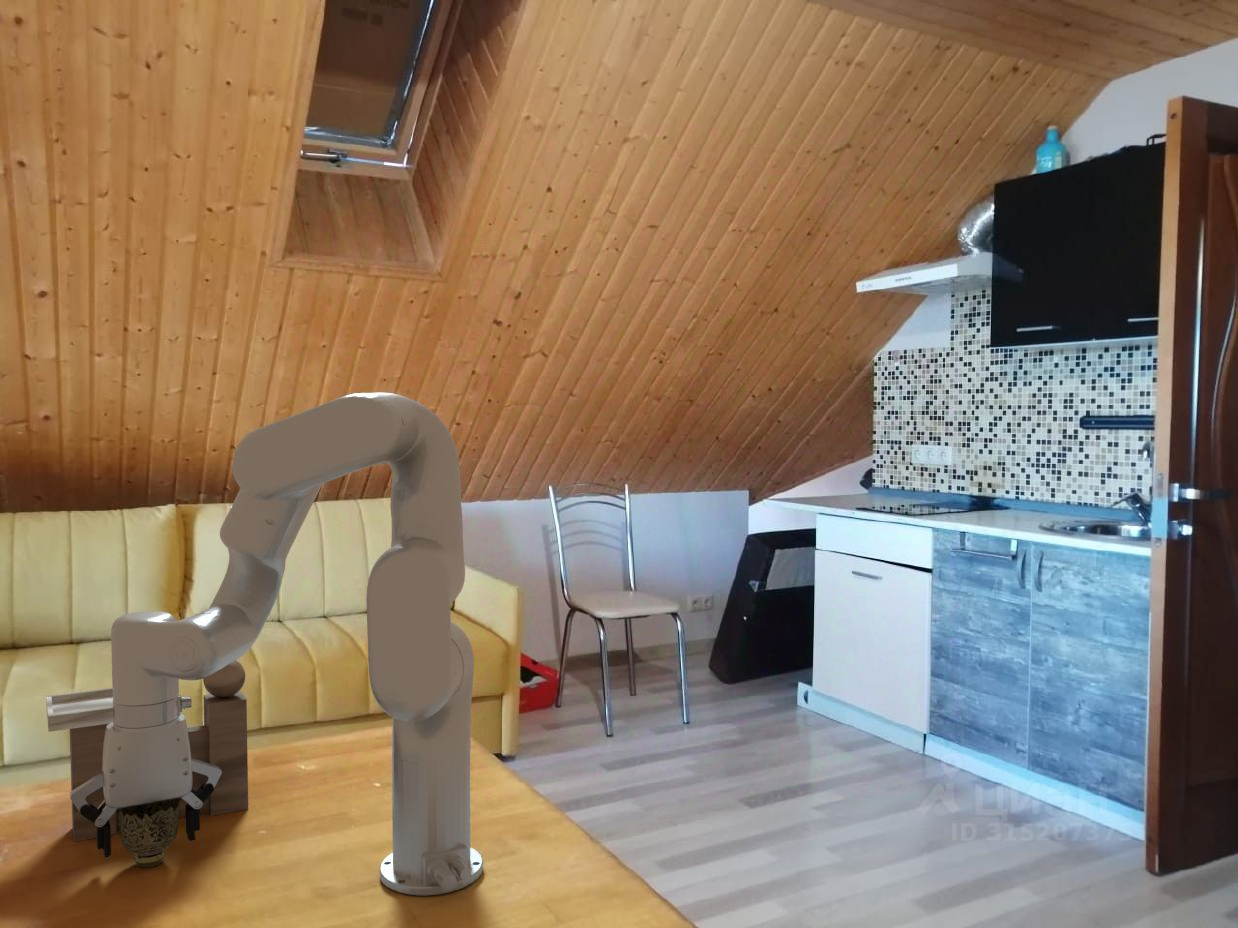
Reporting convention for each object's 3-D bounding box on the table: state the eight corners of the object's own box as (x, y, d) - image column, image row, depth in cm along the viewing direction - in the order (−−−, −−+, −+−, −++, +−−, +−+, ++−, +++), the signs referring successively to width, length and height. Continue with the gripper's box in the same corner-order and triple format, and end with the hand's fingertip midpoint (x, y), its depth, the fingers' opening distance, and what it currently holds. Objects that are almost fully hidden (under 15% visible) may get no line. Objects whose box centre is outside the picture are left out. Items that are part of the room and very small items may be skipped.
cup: (157, 879, 125) (155, 815, 124) (103, 873, 126) (102, 810, 125) (194, 852, 132) (192, 792, 131) (143, 847, 133) (142, 787, 133)
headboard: (254, 814, 144) (251, 664, 142) (52, 853, 131) (47, 688, 130) (240, 790, 153) (238, 648, 151) (50, 824, 140) (45, 669, 139)
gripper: (215, 694, 135) (217, 820, 136) (66, 713, 126) (70, 848, 128) (224, 709, 129) (227, 841, 130) (69, 731, 120) (73, 872, 121)
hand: (149, 844), depth 129 cm, fingers open, 9 cm apart
